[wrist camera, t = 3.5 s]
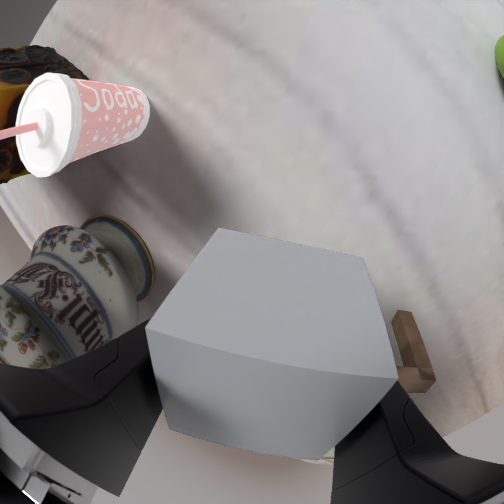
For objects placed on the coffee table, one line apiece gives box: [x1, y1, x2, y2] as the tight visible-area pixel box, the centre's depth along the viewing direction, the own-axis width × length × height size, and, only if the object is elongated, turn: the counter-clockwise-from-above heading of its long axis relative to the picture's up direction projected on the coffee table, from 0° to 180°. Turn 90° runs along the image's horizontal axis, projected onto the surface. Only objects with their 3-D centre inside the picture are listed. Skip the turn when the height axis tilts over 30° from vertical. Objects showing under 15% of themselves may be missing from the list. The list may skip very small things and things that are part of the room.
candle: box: [0, 45, 91, 184], centre depth 13 cm, size 10×10×10 cm
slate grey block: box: [145, 228, 399, 460], centre depth 8 cm, size 5×5×5 cm
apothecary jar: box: [0, 215, 154, 369], centre depth 17 cm, size 12×12×18 cm
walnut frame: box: [322, 310, 436, 459], centre depth 22 cm, size 12×16×8 cm
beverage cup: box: [0, 73, 150, 177], centre depth 11 cm, size 6×6×14 cm
